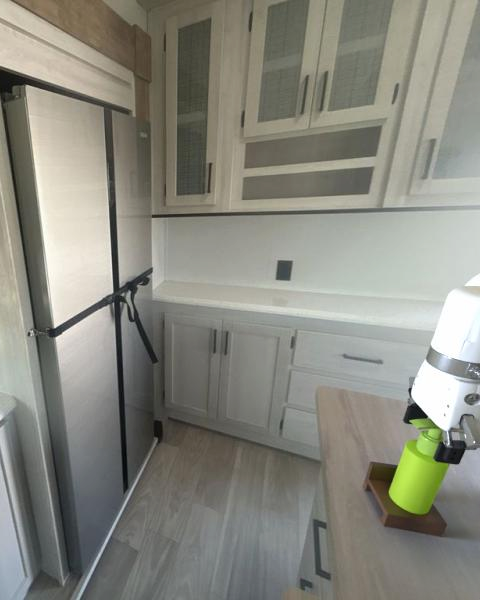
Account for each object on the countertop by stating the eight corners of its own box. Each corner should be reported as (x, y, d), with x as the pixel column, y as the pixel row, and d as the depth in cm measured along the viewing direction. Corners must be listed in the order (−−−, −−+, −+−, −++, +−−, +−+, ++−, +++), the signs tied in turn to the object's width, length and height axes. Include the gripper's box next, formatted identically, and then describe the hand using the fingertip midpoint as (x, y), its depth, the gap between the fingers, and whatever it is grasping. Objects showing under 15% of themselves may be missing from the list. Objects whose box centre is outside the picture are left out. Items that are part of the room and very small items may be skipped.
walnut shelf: (411, 499, 71) (423, 468, 67) (439, 542, 63) (454, 510, 60) (361, 490, 74) (370, 461, 70) (381, 530, 66) (393, 499, 62)
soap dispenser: (375, 485, 69) (401, 410, 62) (413, 487, 68) (444, 411, 60) (396, 513, 64) (427, 434, 56) (438, 515, 63) (475, 435, 55)
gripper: (541, 398, 45) (494, 487, 51) (452, 336, 60) (424, 411, 67) (469, 392, 47) (432, 478, 54) (401, 334, 62) (379, 407, 69)
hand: (428, 441), depth 60 cm, fingers open, 8 cm apart
